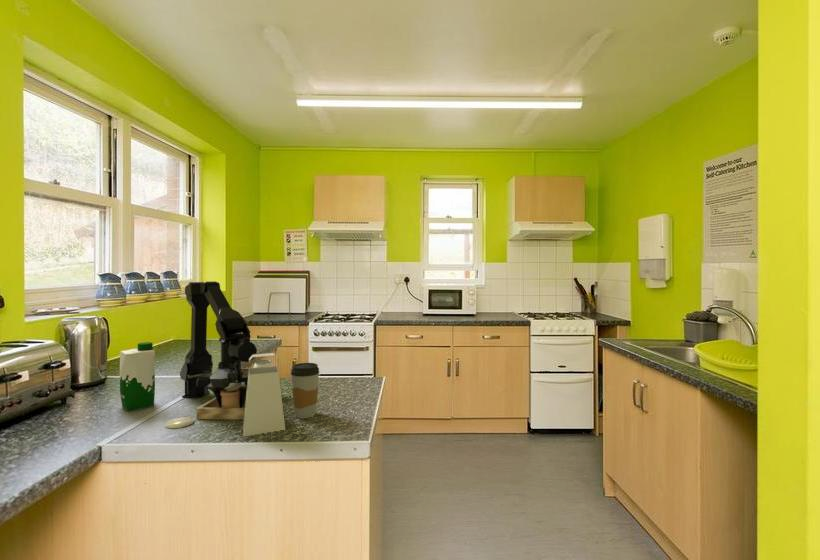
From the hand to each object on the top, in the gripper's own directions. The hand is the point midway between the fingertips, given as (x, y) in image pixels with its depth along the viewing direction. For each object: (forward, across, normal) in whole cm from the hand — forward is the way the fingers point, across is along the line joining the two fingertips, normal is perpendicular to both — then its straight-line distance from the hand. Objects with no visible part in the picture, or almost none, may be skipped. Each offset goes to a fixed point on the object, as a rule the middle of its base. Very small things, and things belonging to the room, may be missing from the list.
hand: (231, 408), depth 120 cm
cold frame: (+2, 0, +2) cm, 2 cm away
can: (+2, +3, +17) cm, 17 cm away
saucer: (+2, -10, -9) cm, 14 cm away
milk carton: (+2, -33, +5) cm, 33 cm away
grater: (+2, +14, -10) cm, 17 cm away
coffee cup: (+2, +23, -1) cm, 23 cm away
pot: (+2, 0, 0) cm, 2 cm away
